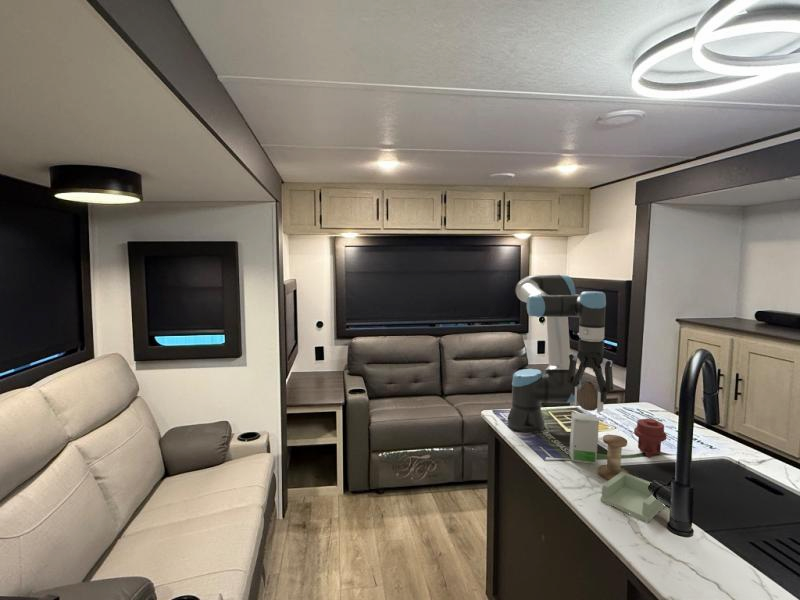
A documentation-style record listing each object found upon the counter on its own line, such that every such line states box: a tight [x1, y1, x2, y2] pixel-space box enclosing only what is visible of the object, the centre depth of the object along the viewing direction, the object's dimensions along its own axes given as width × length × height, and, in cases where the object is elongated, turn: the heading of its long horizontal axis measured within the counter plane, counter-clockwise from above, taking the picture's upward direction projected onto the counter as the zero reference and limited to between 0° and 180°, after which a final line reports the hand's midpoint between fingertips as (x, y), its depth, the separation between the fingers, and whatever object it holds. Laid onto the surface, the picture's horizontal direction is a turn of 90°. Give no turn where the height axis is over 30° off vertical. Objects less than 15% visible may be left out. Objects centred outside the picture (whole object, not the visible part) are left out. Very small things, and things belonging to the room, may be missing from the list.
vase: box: [578, 381, 600, 412], centre depth 140 cm, size 7×7×9 cm
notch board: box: [599, 472, 665, 523], centre depth 124 cm, size 13×13×5 cm
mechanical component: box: [633, 418, 667, 458], centre depth 153 cm, size 12×10×10 cm
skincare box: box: [568, 411, 600, 465], centre depth 150 cm, size 8×7×16 cm
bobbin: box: [597, 434, 630, 481], centre depth 139 cm, size 9×9×12 cm
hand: (588, 407), depth 141 cm, fingers closed on vase, 7 cm apart
